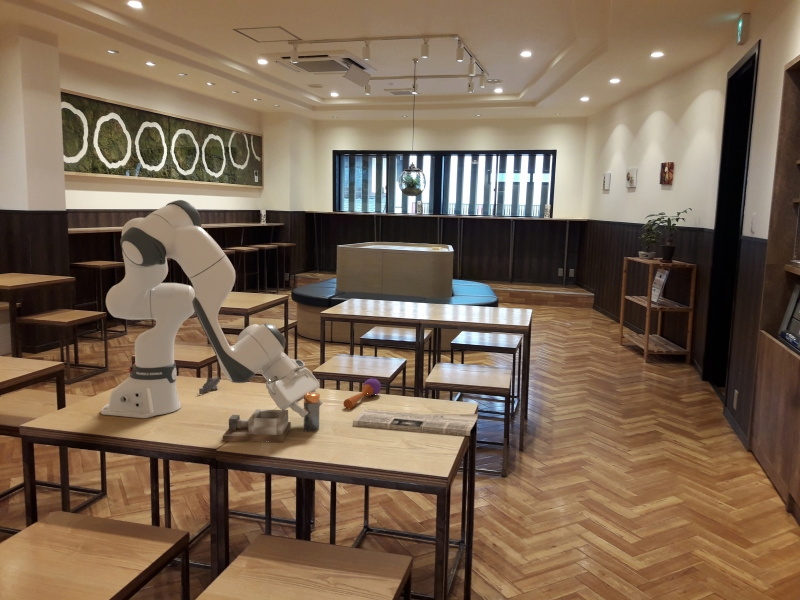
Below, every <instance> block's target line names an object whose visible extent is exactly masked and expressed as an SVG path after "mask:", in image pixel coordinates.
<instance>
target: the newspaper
mask: <svg viewBox="0 0 800 600" xmlns="http://www.w3.org/2000/svg"><path fill="white" fill-rule="evenodd" d="M478 416H479V414H478V413H418V412H416V413H413V412H406V411H395V410H394V411H393V410H384V409H375V408H374V409H372V408H368V409H367V410H366V409H364V410H360V412H358V414H357V415H356V416H355V418H354V419H353V420H352V426H353V427H361V426H362V427H364V428H375V429H384V428H386V429H387V430H395V429H399V431H407V430H409V432H419V433H432V434H444V435H453V436H466V437H470V436H471V430H472V429H473V427H474V426H475V423H476V422H477V420H478Z"/></svg>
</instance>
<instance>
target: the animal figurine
mask: <svg viewBox="0 0 800 600" xmlns="http://www.w3.org/2000/svg"><path fill="white" fill-rule="evenodd" d="M220 379H221V378H220V377H219V376H215V377H213V378H212V377H209V376H208V377H207V378H206V382H205V383H204V384H203V385H202V388H198V390H199V393H198V394H202V395H204V394H205V393H208V392H210V391H211V390H212V391H217V390H218V384H219V383H220ZM216 389H217V390H216ZM203 393H204V394H203Z"/></svg>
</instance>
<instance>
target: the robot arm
mask: <svg viewBox="0 0 800 600" xmlns="http://www.w3.org/2000/svg"><path fill="white" fill-rule="evenodd" d="M121 230H122V231H121V238H120V247H121V251H122V253H121V254H122V257H123V262H124V268H125V269H124V270H125V273H124V274H125V275H124V278H123V279H122V280H121V281H120V282H119V283H117V284H115V285H113V286H111V288H110V289H109V290H108V292H107V293H106V297H105V306H106V308H107V311H108V313H109V314H110V315H111V316H112V317H113V318H117V319H118V318H119V319H124V320H131V321H135V320H155V326H154V327H151V328H150V329H148V330H146V331H144V332H142V333H140V334H139V335H138V336H137V337H136V338H135V342H134V359H135V360H134V361H135V362H134V363H133V364H132V365H131V366H130V367H129V368H127V369H126V370H127V373H129V377H127V378H126V379H125V380H124V381H122V382H121V383H120V384H118V385H116V387H115V388H114V389H112V391H111V393H110V396H109V402H108V403H107V404H105V405H103V406H102V408H101V410H100V414H101V415H104V416H105V415H106V416H118V417H126V418H127V417H128V418H139V419H149V418H152V417H154V416H155V417H156V416H160V415H165V414H170V413H172V412H176V411H178V410H179V409H181V407H182V404H181V401H180V399H179V398H180V397H179V394H178V389H177V384H176V382H177V366H176V365H177V364H176V361H175V343H176V336H177V333H178V332H179V329H180V328H181V326H182V324H184V322H186V321H187V319H188V318H190V317H192V316H193V315H194V314H196V315H195V316H196V317H197V319H198V320H197V321H199V324H200V326H201V328H202V330H203V332H204V334H205V336H206V338H207V339H208V342H209V345H210V346H211V348H212V350H213V352H214V354H215V355H216V356H215V357H216V359H217V361H218V364H219V367H220V369H221V371H222V373H223V375H224V376H225V378H226V379H228V381H230V382H231V383H232V384H233V383H235V384H243V383H244V384H246V383H248V382H249V381H250V380H251V379H253V377H254V376H255V375H256V373H258V372H260V374H261V375H262V376H263V377H264V379H265V380H266V382H265V383H266V385H265V387H266V389H267V391H268V394H269V396H270V397H271V399H272V400H273V401H274V403H275V405H276V406H277V408H278V409H279V410H288V409H289V408H290V409H291V410H292V411H293V412H295V413H297V414H299V416H300V417H301V418H304V417H305V416H306V415H307V414H308V411H307V410H306V409H305V408H304V407H303V406H301V405H300V401H301V400H304V395H305V394H307V393H310V392H315V393H318V391H317V390H318V388H320V386H321V385H320V383H319V381H318V379H317V378H316V377H315V375H314V374H313V373H312V371H311V370H310V369H309V368H308V367H305V366H306V363H305V362H304V361H303V359H294V358H291V357H289V356H288V354H286V353H285V352H283V351H284V350H285V348H286V343H287V342H286V340H287V339H286V337H285V336H284V335H283V334H282V332H281V331H280V330H279V329H278V328H277V327H276V325H275V324H271V323H262V324H257V323H254V324H250V325H248V326H247V327H245V328H243V330H242V331H240V333H239V334H238V336H237V342H236V343H235V344H233V345H230V344H229V341H228V340H227V337H226V336H225V333H224V332H223V330H222V327H221V325H220V323H219V320H218V317H219V312H220V310H221V308H222V305H223V304H224V302H226V300H227V298H228V297H229V295H230V294H231V292H232V290H233V287H234V285H235V282H236V270H235V268H234V266H233V264H232V262H231V261H230V259H229V258H228V256H227V254H226V253H225V252H224V251H223V249H222V248H221V246H220V245H219V244H218V243H217V241H216V240H215V239H214V238H213V237H212V236H211V235H210V234H209V233H208V232H207V231H206V230H205V229H204V228H202V218H201V215H200V213H199V211H198V210H197V209H196V207H195V206H193V204H191V203H190V202H188V201H186V200H183V199H178V200H173V201H170V202H168V203H167V204H166V205H164V206H162V207H159V208H158V209H157V210H154V211H152V212H151V213H149V214H148V215H147V216H146V217H136V218H135V217H134V218H132V219H130V220H128V221H127V222H126V223H125V224H124V226H122V229H121ZM168 259H172V260H174V261H176V262H177V264H178V265H179V266H180V267H181V269H182V270H183V272H184V273H185V275H186V276H187V278H188V279H189V281H190V283H191V284H192V286H191V285H189V284H184V283H178V282H163V281H164V280H165V279H166V277H167V275H168V272H169V266H168V261H167V260H168ZM322 405H323V401H322V400H321V399H320V407H321V406H322Z"/></svg>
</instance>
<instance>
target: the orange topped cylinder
mask: <svg viewBox="0 0 800 600" xmlns="http://www.w3.org/2000/svg"><path fill="white" fill-rule="evenodd" d="M320 395H321V394H320V393H319V392H317V393H315V392H310V393H307V394H305V395H304V398H303V408H305V409H306V410H307V411H308V414H307V415H306V416H305V417H303V430H304V431H305V430H306V432H317V431H318V429H320V408H321V406H320V400H321V398H320ZM316 430H317V431H316Z"/></svg>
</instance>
